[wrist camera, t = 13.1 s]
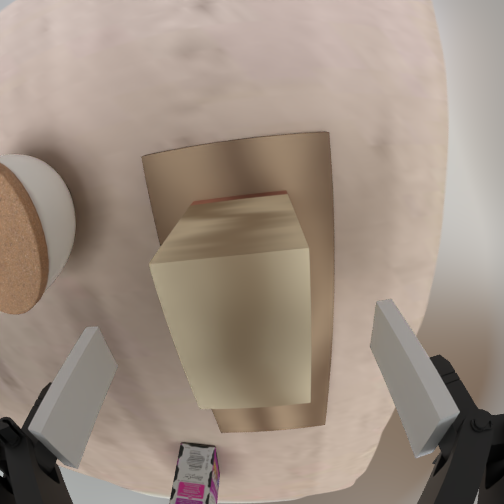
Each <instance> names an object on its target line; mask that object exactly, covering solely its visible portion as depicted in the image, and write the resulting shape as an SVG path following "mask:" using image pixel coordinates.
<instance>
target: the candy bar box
mask: <svg viewBox="0 0 504 504" xmlns="http://www.w3.org/2000/svg"><path fill="white" fill-rule="evenodd" d="M219 477H220V473H219V467H218V462H217V455H216V448H215V447H214V446H205V445H197V444H190V443H181V445H180V451H179V456H178V461H177V466H176V471H175V477H174V481H173V487H172V492H171V498H170V503H169V504H217V498H218V488H219Z"/></svg>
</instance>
